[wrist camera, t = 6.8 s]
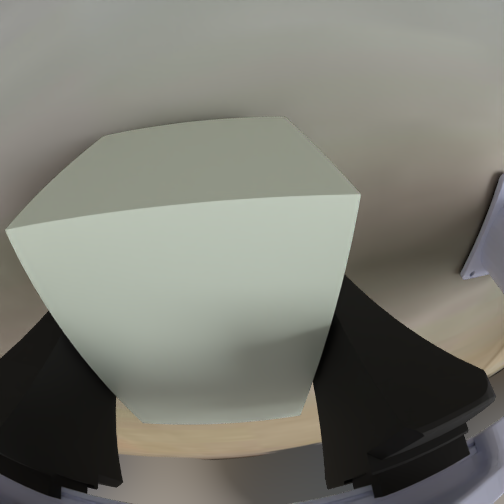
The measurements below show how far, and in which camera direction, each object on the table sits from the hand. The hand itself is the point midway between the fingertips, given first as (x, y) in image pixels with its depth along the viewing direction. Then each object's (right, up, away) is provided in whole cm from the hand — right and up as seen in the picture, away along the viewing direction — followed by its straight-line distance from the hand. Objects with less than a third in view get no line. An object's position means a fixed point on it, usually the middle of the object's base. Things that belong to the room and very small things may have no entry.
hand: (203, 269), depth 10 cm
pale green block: (0, +1, +1) cm, 2 cm away
